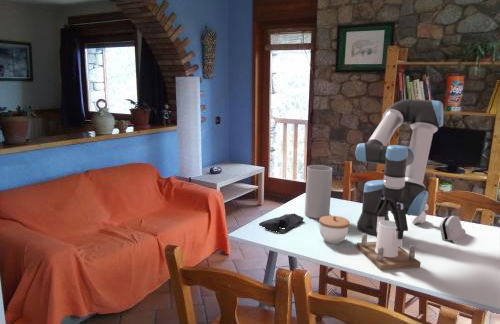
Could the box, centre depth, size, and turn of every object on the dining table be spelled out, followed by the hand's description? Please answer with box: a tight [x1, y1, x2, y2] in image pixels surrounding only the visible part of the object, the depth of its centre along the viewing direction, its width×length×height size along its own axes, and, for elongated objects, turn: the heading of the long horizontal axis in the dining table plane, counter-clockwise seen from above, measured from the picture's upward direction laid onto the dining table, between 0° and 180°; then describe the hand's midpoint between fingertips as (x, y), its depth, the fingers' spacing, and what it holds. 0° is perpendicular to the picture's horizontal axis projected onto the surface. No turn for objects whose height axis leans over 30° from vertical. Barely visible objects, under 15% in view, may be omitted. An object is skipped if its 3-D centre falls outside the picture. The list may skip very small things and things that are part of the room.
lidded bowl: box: [318, 215, 350, 245], centre depth 163 cm, size 13×13×11 cm
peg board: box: [355, 233, 422, 271], centre depth 149 cm, size 20×16×7 cm
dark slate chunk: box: [258, 213, 305, 234], centre depth 182 cm, size 15×22×5 cm
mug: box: [375, 220, 398, 258], centre depth 148 cm, size 12×8×12 cm
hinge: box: [439, 215, 467, 244], centre depth 171 cm, size 17×5×10 cm, turn 135°
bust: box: [410, 203, 429, 225], centre depth 187 cm, size 12×8×11 cm
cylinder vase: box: [304, 164, 333, 220], centre depth 193 cm, size 12×12×25 cm
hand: (388, 238), depth 148 cm, fingers open, 13 cm apart
